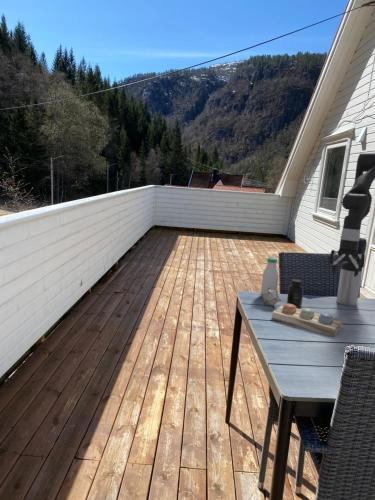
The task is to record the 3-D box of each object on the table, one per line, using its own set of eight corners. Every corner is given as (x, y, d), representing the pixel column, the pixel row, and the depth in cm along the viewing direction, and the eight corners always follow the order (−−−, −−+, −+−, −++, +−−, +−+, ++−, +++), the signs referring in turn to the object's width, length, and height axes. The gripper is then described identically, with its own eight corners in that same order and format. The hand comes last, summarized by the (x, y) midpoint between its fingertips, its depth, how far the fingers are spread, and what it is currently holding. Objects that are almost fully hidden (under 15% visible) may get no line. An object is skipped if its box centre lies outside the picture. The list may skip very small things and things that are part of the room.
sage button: (302, 314, 143) (303, 307, 143) (313, 317, 141) (314, 309, 140) (299, 317, 140) (300, 309, 139) (310, 320, 137) (311, 312, 137)
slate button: (321, 319, 139) (322, 311, 139) (332, 322, 136) (333, 314, 136) (317, 322, 135) (318, 314, 135) (329, 325, 133) (331, 317, 132)
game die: (273, 313, 160) (288, 298, 157) (265, 310, 154) (280, 295, 151) (261, 299, 166) (276, 285, 163) (253, 296, 159) (268, 281, 156)
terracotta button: (285, 309, 148) (286, 302, 147) (296, 312, 145) (296, 305, 144) (281, 312, 144) (282, 305, 143) (292, 315, 141) (293, 308, 141)
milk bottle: (276, 300, 168) (280, 260, 164) (260, 298, 169) (264, 259, 165) (275, 295, 175) (279, 257, 171) (260, 293, 176) (264, 256, 173)
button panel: (282, 311, 153) (282, 304, 152) (341, 326, 138) (342, 319, 138) (271, 318, 143) (272, 311, 142) (334, 336, 129) (335, 328, 128)
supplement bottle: (303, 304, 164) (306, 280, 161) (299, 308, 158) (302, 283, 156) (288, 301, 167) (291, 277, 165) (284, 304, 161) (287, 280, 159)
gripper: (368, 240, 151) (362, 276, 153) (334, 236, 158) (329, 270, 160) (367, 241, 144) (361, 278, 146) (331, 237, 151) (326, 273, 153)
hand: (344, 274), depth 153 cm, fingers open, 8 cm apart
